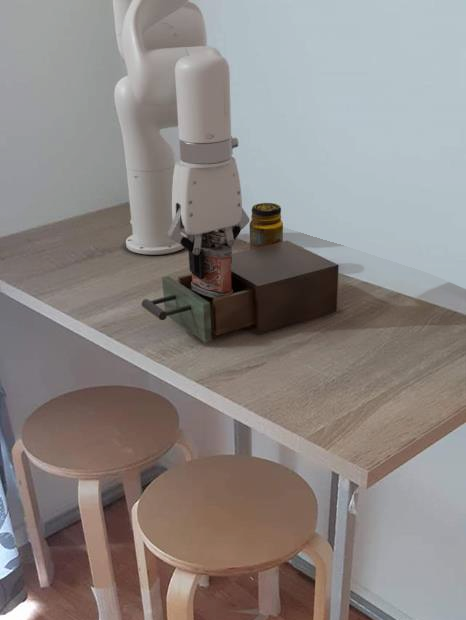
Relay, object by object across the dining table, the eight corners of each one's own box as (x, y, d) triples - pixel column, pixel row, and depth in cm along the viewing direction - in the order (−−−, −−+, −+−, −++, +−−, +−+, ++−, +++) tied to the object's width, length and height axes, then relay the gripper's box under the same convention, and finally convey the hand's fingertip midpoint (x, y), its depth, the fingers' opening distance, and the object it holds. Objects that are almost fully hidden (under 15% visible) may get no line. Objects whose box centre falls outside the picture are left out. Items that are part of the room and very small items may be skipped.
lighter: (186, 288, 132) (182, 227, 127) (201, 282, 134) (198, 221, 129) (222, 301, 128) (220, 237, 122) (237, 294, 130) (236, 232, 124)
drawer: (172, 352, 124) (169, 313, 121) (133, 322, 134) (129, 285, 130) (282, 320, 133) (283, 283, 129) (239, 294, 142) (238, 258, 139)
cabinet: (258, 334, 131) (257, 286, 126) (211, 304, 141) (209, 258, 136) (336, 311, 137) (338, 264, 133) (286, 284, 148) (287, 240, 143)
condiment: (292, 272, 152) (293, 207, 145) (254, 283, 148) (253, 216, 142) (269, 261, 157) (269, 198, 150) (232, 271, 154) (230, 206, 147)
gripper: (241, 138, 125) (243, 255, 135) (142, 155, 118) (152, 277, 128) (268, 147, 120) (268, 269, 130) (166, 165, 113) (175, 292, 123)
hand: (211, 272), depth 129 cm, fingers closed on lighter, 4 cm apart
